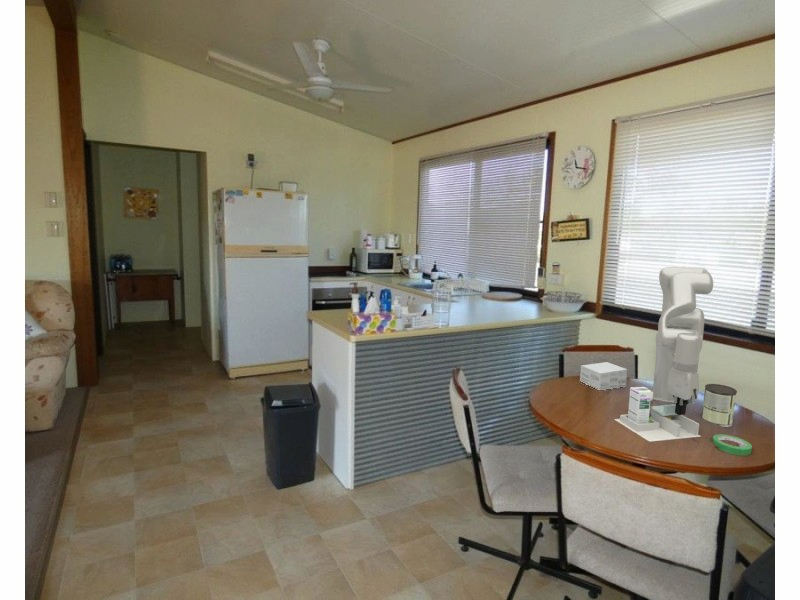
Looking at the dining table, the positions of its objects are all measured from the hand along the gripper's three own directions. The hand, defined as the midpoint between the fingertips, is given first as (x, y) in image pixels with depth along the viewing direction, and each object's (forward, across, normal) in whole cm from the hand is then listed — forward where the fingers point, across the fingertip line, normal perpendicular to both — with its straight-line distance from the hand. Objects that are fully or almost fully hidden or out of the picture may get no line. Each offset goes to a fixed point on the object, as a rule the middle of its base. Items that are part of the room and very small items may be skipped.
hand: (680, 414), depth 166 cm
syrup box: (+7, -8, -11) cm, 15 cm away
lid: (+2, -7, 0) cm, 7 cm away
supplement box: (+8, -53, +6) cm, 54 cm away
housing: (+8, -4, -6) cm, 11 cm away
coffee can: (+8, -6, +24) cm, 26 cm away
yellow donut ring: (+7, -7, 0) cm, 10 cm away
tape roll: (+8, +13, +10) cm, 18 cm away
